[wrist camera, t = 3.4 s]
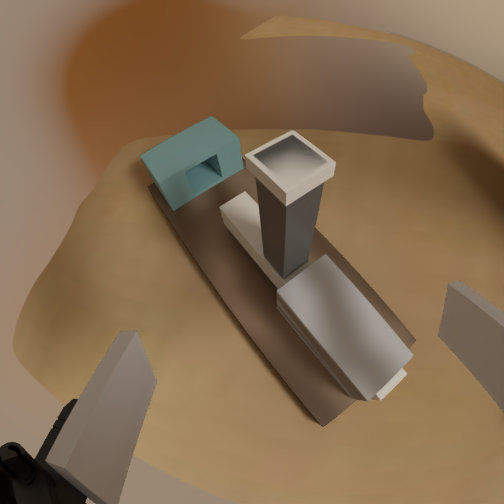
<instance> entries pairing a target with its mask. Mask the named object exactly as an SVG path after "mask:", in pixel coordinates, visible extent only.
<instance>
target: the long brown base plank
mask: <svg viewBox="0 0 504 504" xmlns="http://www.w3.org/2000/svg"><path fill="white" fill-rule="evenodd" d="M242 161H243V167H244V169H242V170H240V171H238V172H237V173H235V174H233V175H232V176H230V177H228V178H226V179H225V180H223V181H221V182H220V183H218V184H216V185H215V186H213V187H211V188H210V189H208V190H206V191H205V192H203V193H201V194H200V195H198V196H197V197H195V198H193V199H192V200H190V201H189V202H187V203H185V204H184V205H182V206H181V207H179V208H178V209H176V210H175V211H173V210H172V208H171V207H170V205H169V204H168V202H167V201H166V199H165V198H164V196H163V195H162V194H161V192H160V191H159V189H158V188H157V186H156V184H155V183H153V184H151V185H150V186H148V188H149V190H150V192H151V193H152V195H153V196H154V198H155V200H156V201H157V203H158V204H159V206H160V208H161V209H162V211H163V212H164V214H165V215H166V217H167V218H168V220H169V222H170V223H171V225H172V226H173V228H174V229H175V231H176V232H177V234H178V235H179V237H180V238H181V240H182V241H183V243H184V244H185V246H186V247H187V249H188V250H189V252H190V253H191V255H192V256H193V258H194V259H195V261H196V262H197V263H198V265H199V266H200V268H201V269H202V271H203V272H204V274H205V275H206V276H207V278H208V279H209V281H210V282H211V284H212V285H213V286H214V288H215V289H216V291H217V292H218V294H219V295H220V296H221V298H222V299H223V301H224V302H225V303H226V305H227V306H228V307H229V309H230V310H231V312H232V313H233V314H234V316H235V317H236V318H237V320H238V321H239V323H240V324H241V325H242V327H243V328H244V329H245V331H246V332H247V333H248V335H249V336H250V337H251V339H252V340H253V341H254V343H255V344H256V345H257V347H258V348H259V349H260V350H261V352H262V353H263V354H264V356H265V357H266V358H267V360H268V361H269V362H270V363H271V365H272V366H273V367H274V369H275V370H276V371H277V372H278V374H279V375H280V376H281V377H282V379H283V380H284V381H285V382H286V384H287V385H288V386H289V387H290V389H291V390H292V391H293V392H294V394H295V395H296V396H297V397H298V399H299V400H300V401H301V402H302V403H303V405H304V406H305V407H306V408H307V409H308V411H309V412H310V413H311V414H312V415H313V417H314V418H315V419H316V420H317V421H318V423H319V424H320V425H321V426H322V427H324V426H325V425H327V424H328V423H329V422H331V421H332V420H333V419H334V418H336V417H337V416H338V415H339V414H341V413H342V412H343V411H344V410H345V409H347V408H348V407H349V406H350V405H351V404H353V403H354V402H355V401H356V400H364V401H369V400H370V399H371V398H372V397H373V396H374V395H375V394H376V393H377V392H379V391H380V390H381V389H382V388H383V387H384V386H385V385H386V384H387V383H388V382H389V381H390V380H391V379H392V378H393V377H394V376H395V375H396V374H397V373H398V372H399V371H400V370H401V369H402V367H403V366H404V365H405V364H406V363H407V362H408V361H409V360H410V359H411V358H412V357H413V354H412V353H411V351H410V350H409V348H410V347H411V346H412V345H413V344H414V342H415V341H416V339H415V338H414V337H413V336H412V334H411V333H410V332H409V331H408V330H407V328H406V327H405V326H404V325H403V324H402V322H401V321H400V320H399V319H398V318H397V316H396V315H395V314H394V313H393V312H392V311H391V309H390V308H389V307H388V306H387V305H386V304H385V302H384V301H383V300H382V299H381V298H380V297H379V296H378V294H377V293H376V292H375V291H374V290H373V289H372V288H371V287H370V285H369V284H368V283H367V282H366V281H365V280H364V279H363V278H362V276H361V275H360V274H359V273H358V272H357V271H356V270H355V269H354V268H353V267H352V266H351V264H350V263H349V262H348V261H347V260H346V259H345V258H344V257H343V256H342V255H341V254H340V253H339V252H338V251H337V250H336V248H335V247H334V246H333V245H332V244H331V243H330V242H329V241H328V240H327V239H326V238H325V237H324V236H323V235H322V234H321V233H320V232H319V231H318V230H317V229H316V228H315V230H314V235H313V239H312V244H311V248H310V253H309V257H308V259H309V260H310V261H311V262H312V263H313V264H312V265H310V266H309V267H308V268H306V269H305V270H304V271H302V272H301V273H300V274H298V275H297V276H296V277H294V278H293V279H292V280H290V281H289V282H288V283H286V284H285V285H284V286H282V287H281V288H280V289H277V287H276V286H275V285H274V284H273V283H272V281H271V280H270V279H269V278H268V277H267V275H266V274H265V273H264V272H263V270H262V269H261V268H260V267H259V266H258V264H257V263H256V262H255V261H254V259H253V258H252V257H251V256H250V255H249V253H248V252H247V251H246V250H245V249H244V247H243V246H242V245H241V244H240V242H239V241H238V240H237V239H236V238H235V236H234V235H233V234H232V233H231V231H230V230H229V229H228V228H227V227H226V225H225V224H224V221H223V218H222V215H221V211H220V208H219V207H220V206H222V205H223V204H225V203H227V202H228V201H230V200H231V199H233V198H235V197H236V196H238V195H240V194H241V193H243V192H244V191H245V192H246V193H247V194H248V195H249V196H250V197H251V198H252V199H253V200H254V201H255V202H256V203H257V204H258V196H257V187H256V178H255V176H254V175H253V174H252V173H251V172H250V171H249V170H248V169H247V168H246V162H245V159H243V158H242Z"/></svg>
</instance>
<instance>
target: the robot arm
mask: <svg viewBox="0 0 504 504" xmlns="http://www.w3.org/2000/svg"><path fill="white" fill-rule="evenodd" d="M438 336H439V337H440V338H441V340H442V341H443V342H444V343H445V344H446V345H447V346H448V347H449V348H450V349H451V350H452V351H453V353H454V354H455V355H456V356H457V357H458V358H459V359H460V360H461V362H462V363H463V364H464V365H465V366H466V367H467V368H468V370H469V371H470V372H471V373H472V374H473V375H474V377H475V378H476V379H477V380H478V381H479V382H480V384H481V385H482V386H483V387H484V388H485V390H486V391H487V392H488V393H489V395H490V396H491V397H492V398H493V400H494V401H495V402H496V403H497V405H498V406H499V407H500V408H501V410H502V411H503V412H504V312H503V311H501V310H500V309H499V308H497V307H496V306H495V305H493V304H492V303H491V302H489V301H488V300H487V299H485V298H484V297H482V296H481V295H480V294H478V293H477V292H475V291H474V290H473V289H471V288H470V287H468V286H467V285H465V284H464V283H462V282H461V281H456V282H452V283H449V284H448V287H447V293H446V299H445V304H444V310H443V315H442V319H441V324H440V328H439V333H438ZM156 384H157V379H156V377H155V374H154V372H153V370H152V368H151V365H150V363H149V360H148V358H147V356H146V353H145V351H144V348H143V346H142V343H141V341H140V338H139V335H138V333H137V331H121V332H120V333H119V335H118V336H117V338H116V339H115V341H114V342H113V344H112V345H111V347H110V348H109V350H108V352H107V353H106V355H105V356H104V358H103V359H102V361H101V363H100V364H99V366H98V367H97V369H96V371H95V372H94V374H93V375H92V377H91V379H90V380H89V382H88V384H87V385H86V387H85V389H84V390H83V392H82V394H81V396H80V397H79V399H73V400H71V401H70V402H69V403H68V404H67V405H66V406H65V407H64V408H63V410H62V411H61V413H60V415H59V416H58V420H56V421H55V423H54V425H53V428H52V429H51V430H50V432H49V434H48V436H47V438H46V439H45V441H44V443H43V445H42V447H41V449H40V450H39V452H38V454H37V456H36V458H35V459H33V458H32V457H31V456H30V455H29V454H28V453H27V452H26V451H25V449H24V448H23V447H22V446H21V445H20V444H18V443H15V442H9V443H6V444H4V445H2V446H1V447H0V504H86V503H85V502H86V499H87V497H88V498H89V499H90V500H92V501H93V502H94V503H96V504H118V503H119V499H120V496H121V492H122V488H123V485H124V482H125V478H126V475H127V472H128V468H129V465H130V462H131V458H132V455H133V452H134V449H135V446H136V443H137V440H138V436H139V433H140V430H141V427H142V424H143V421H144V418H145V415H146V412H147V409H148V406H149V404H150V401H151V398H152V395H153V392H154V389H155V386H156Z"/></svg>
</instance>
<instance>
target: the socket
mask: <svg viewBox="0 0 504 504" xmlns="http://www.w3.org/2000/svg"><path fill="white" fill-rule="evenodd" d="M140 156H141V158H142V160H143V162H144V164H145V166H146V168H147V170H148V172H149V174H150V176H151V177H152V179H153V181H154V183H155V184H156V186H157V188H158V189H159V191H160V192H161V194H162V195H163V196H164V198H165V199H166V201H167V202H168V204H169V205H170V207H171V208H172V210H173V211H175V210H176V209H178V208H179V207H181V206H182V205H184V204H185V203H187V202H189V201H190V200H192V199H193V198H195V197H197V196H198V195H200V194H201V193H203V192H205V191H206V190H208V189H210V188H211V187H213V186H215V185H216V184H218V183H220V182H221V181H223V180H225V179H226V178H228V177H230V176H232V175H233V174H235V173H237V172H238V171H240V170H242V169H244V167H243V161H242V154H241V148H240V141H239V137H238V136H236V135H235V134H234V133H233V132H231V131H230V130H229V129H228V128H227V127H225V126H224V125H223V124H221V123H220V122H219V121H218V120H216V119H215V118H214V117H213V116H211V117H209V118H207V119H205V120H203V121H201V122H199V123H197V124H195V125H193V126H191V127H189V128H187V129H185V130H183V131H182V132H180V133H178V134H176V135H174V136H172V137H171V138H169V139H167V140H165V141H164V142H162V143H160V144H158V145H157V146H155V147H153V148H152V149H150V150H148V151H147V152H145V153H143V154H142V155H140Z"/></svg>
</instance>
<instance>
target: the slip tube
mask: <svg viewBox="0 0 504 504" xmlns="http://www.w3.org/2000/svg"><path fill="white" fill-rule="evenodd" d="M245 162H246V168H247V169H248V170H249V171H250V172H251V173H252V174H253V175H254V176H255V178H256V187H257V196H258V204H257V203H256V202H255V201H254V200H253V199H252V198H251V197H250V196H249V195H248V194H247V193H246V192H245V191H244V192H243V193H241V194H240V195H238V196H236V197H235V198H233V199H231V200H230V201H228V202H227V203H225V204H223V205H222V206H220V207H219V208H220V211H221V215H222V218H223V221H224V224H225V225H226V227H227V228H228V229H229V230H230V231H231V233H232V234H233V235H234V236H235V238H236V239H237V240H238V241H239V242H240V244H241V245H242V246H243V247H244V249H245V250H246V251H247V252H248V253H249V255H250V256H251V257H252V258H253V259H254V261H255V262H256V263H257V264H258V266H259V267H260V268H261V269H262V270H263V272H264V273H265V274H266V275H267V277H268V278H269V279H270V280H271V281H272V283H273V284H274V285H275V286H276V287H277V289H280V288H281V287H282V286H284V285H285V284H286V283H288V282H289V281H290V280H292V279H293V278H294V277H296V276H297V275H298V274H300V273H301V272H302V271H304V270H305V269H306V268H308V267H309V266H310V265H312V264H313V263H312V262H311V261H310V260H309V259H308V257H309V253H310V248H311V244H312V239H313V235H314V230H315V225H316V220H317V215H318V211H319V205H320V200H321V195H322V190H323V185H324V182H325V181H326V180H328V179H329V178H331V177H333V175H334V170H335V166H336V162H335V161H333V160H332V159H331V158H330V157H328V156H327V155H326V154H325V153H323V152H322V151H321V150H319V149H318V148H317V147H316V146H314V145H313V144H312V143H310V142H309V141H308V140H306V139H305V138H304V137H302V136H301V135H299V134H298V133H297V132H295V131H294V130H292V131H290V132H288V133H286V134H284V135H282V136H280V137H278V138H276V139H274V140H272V141H270V142H268V143H266V144H264V145H262V146H260V147H258V148H256V149H255V150H253V151H251V152H249V153H247V154H245ZM406 375H407V373H406V372H405V371H404V369H403V368H402V369H401V370H400V371H399V372H398V373H397V374H396V375H395V376H394V377H393V378H392V379H391V380H390V381H389V382H388V383H387V384H386V385H385V386H384V387H383V388H382V389H381V390H380V391H379V392H377V393H376V394H375V395H374V396H373V397H372V398H371V399H372V400H382V399H383V398H384V397H385V396H386V395H387V394H388V393H389V392H390V391H391V390H392V389H393V388H394V387H395V386H396V385H397V384H398V383H399V382H400V381H401V380H402V379H403V378H404V377H405V376H406Z"/></svg>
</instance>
